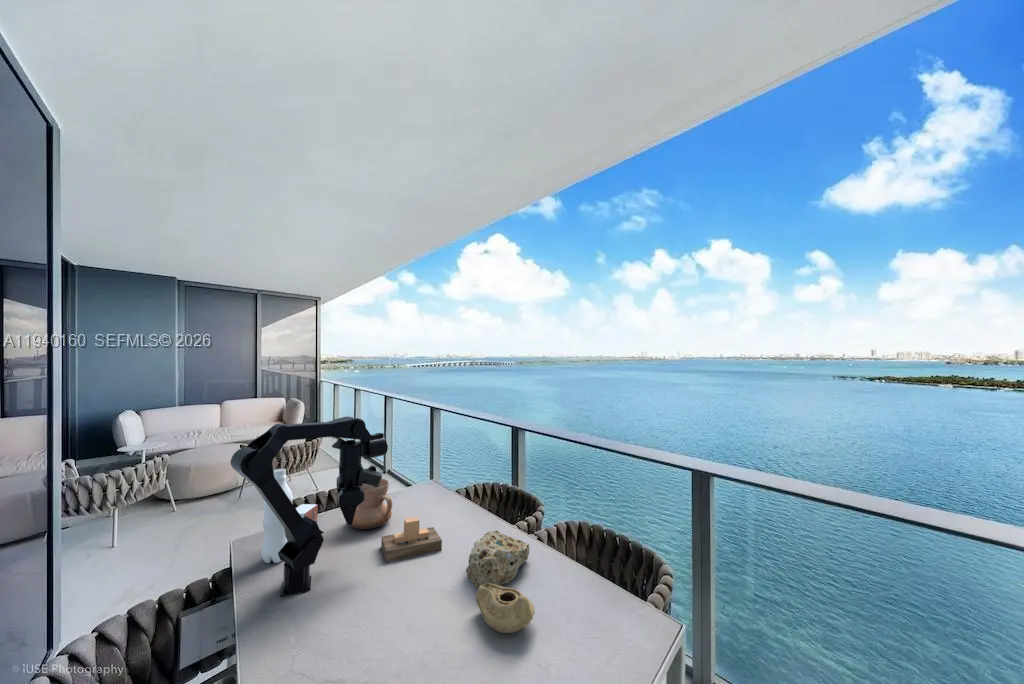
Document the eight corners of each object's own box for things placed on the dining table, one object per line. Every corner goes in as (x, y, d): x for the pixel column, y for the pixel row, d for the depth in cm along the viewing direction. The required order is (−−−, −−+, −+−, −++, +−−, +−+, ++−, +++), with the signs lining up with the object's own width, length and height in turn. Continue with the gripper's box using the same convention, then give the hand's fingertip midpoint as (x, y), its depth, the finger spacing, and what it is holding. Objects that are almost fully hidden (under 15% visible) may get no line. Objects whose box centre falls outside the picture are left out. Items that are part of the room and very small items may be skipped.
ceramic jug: (335, 526, 131) (336, 484, 131) (368, 511, 143) (370, 473, 144) (372, 539, 122) (373, 494, 123) (404, 522, 135) (406, 481, 135)
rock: (484, 551, 116) (493, 519, 117) (528, 572, 111) (537, 538, 112) (452, 579, 97) (463, 540, 98) (503, 607, 92) (515, 565, 93)
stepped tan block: (428, 547, 117) (429, 518, 117) (394, 554, 112) (395, 524, 113) (426, 542, 119) (426, 515, 120) (393, 549, 115) (394, 520, 115)
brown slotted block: (441, 550, 115) (441, 539, 115) (386, 561, 108) (386, 551, 108) (433, 536, 124) (433, 526, 124) (381, 546, 117) (381, 536, 117)
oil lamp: (487, 598, 92) (488, 564, 92) (544, 620, 84) (544, 582, 84) (459, 625, 82) (459, 587, 83) (520, 652, 75) (520, 610, 75)
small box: (303, 549, 115) (304, 513, 115) (284, 549, 115) (286, 513, 115) (317, 537, 123) (318, 503, 123) (300, 537, 123) (301, 503, 123)
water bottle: (276, 567, 105) (280, 474, 106) (254, 564, 106) (258, 472, 107) (296, 554, 112) (299, 467, 113) (275, 551, 113) (279, 466, 114)
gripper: (385, 467, 103) (383, 526, 102) (376, 452, 120) (375, 503, 119) (339, 472, 98) (337, 534, 97) (337, 456, 115) (335, 509, 114)
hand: (348, 518), depth 107 cm, fingers open, 9 cm apart
